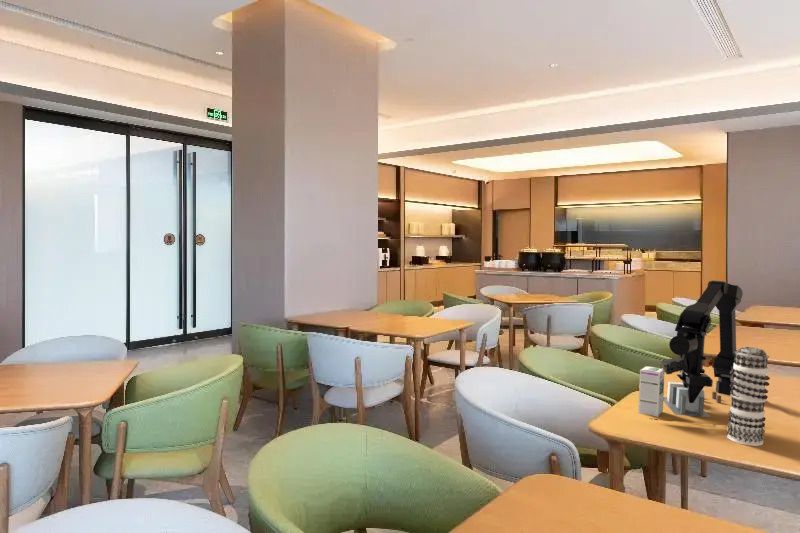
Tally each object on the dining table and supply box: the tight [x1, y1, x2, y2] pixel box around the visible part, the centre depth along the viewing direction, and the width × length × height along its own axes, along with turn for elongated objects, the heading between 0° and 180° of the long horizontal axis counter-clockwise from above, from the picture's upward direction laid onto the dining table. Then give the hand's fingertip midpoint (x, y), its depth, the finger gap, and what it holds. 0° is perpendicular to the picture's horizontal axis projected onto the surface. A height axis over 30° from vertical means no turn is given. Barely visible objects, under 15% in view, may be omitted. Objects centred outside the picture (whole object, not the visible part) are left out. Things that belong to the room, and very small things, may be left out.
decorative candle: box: [726, 346, 771, 447], centre depth 153 cm, size 9×9×25 cm
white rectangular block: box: [666, 381, 684, 402], centre depth 183 cm, size 7×2×6 cm, turn 79°
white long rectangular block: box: [676, 387, 705, 410], centre depth 173 cm, size 7×2×6 cm, turn 79°
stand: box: [711, 391, 722, 404], centre depth 186 cm, size 8×6×3 cm
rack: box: [663, 386, 711, 418], centre depth 178 cm, size 10×18×7 cm, turn 169°
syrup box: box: [637, 366, 665, 421], centre depth 171 cm, size 6×6×14 cm
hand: (689, 401), depth 173 cm, fingers closed on white long rectangular block, 2 cm apart
